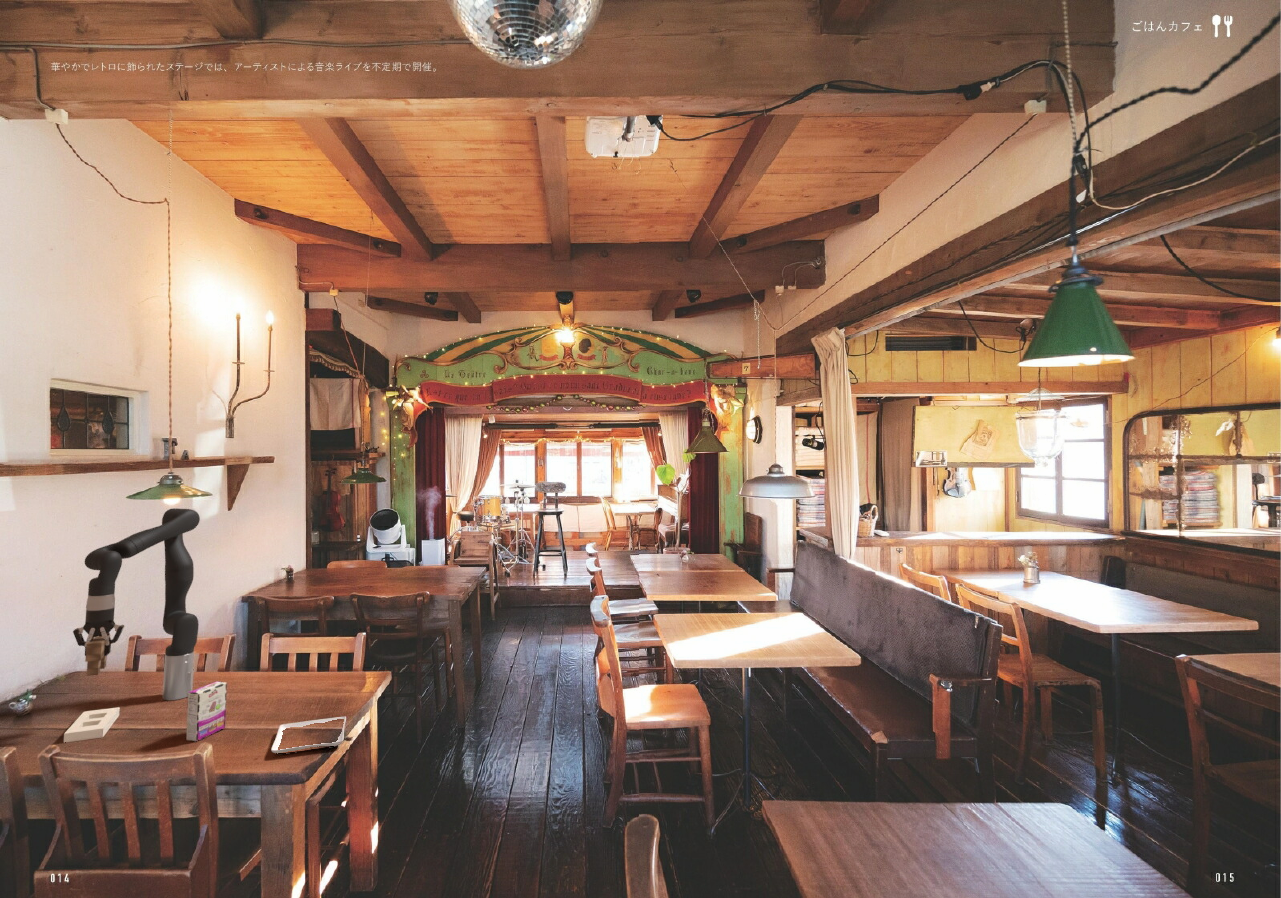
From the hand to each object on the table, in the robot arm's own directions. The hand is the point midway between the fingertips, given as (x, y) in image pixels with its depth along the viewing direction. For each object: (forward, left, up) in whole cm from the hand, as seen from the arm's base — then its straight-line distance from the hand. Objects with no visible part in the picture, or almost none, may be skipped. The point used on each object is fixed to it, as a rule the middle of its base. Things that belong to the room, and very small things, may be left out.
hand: (97, 656), depth 213 cm
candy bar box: (-35, +21, -25) cm, 48 cm away
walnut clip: (0, 0, -5) cm, 5 cm away
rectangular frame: (-67, +41, -26) cm, 83 cm away
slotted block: (0, 0, -25) cm, 25 cm away
